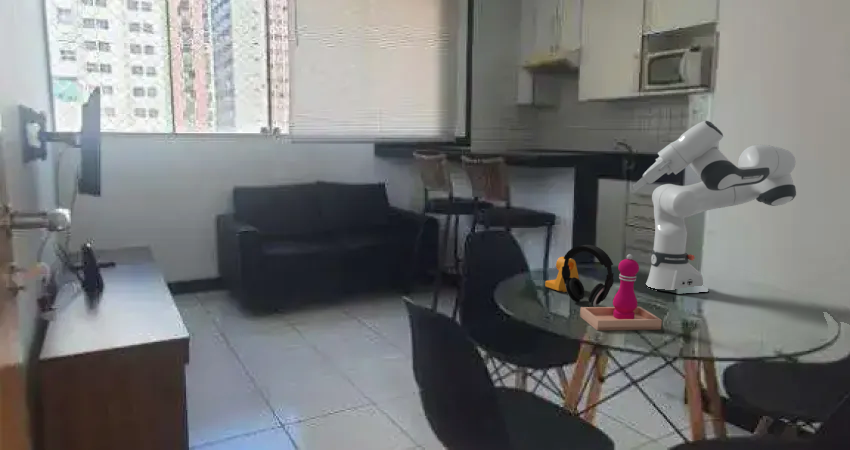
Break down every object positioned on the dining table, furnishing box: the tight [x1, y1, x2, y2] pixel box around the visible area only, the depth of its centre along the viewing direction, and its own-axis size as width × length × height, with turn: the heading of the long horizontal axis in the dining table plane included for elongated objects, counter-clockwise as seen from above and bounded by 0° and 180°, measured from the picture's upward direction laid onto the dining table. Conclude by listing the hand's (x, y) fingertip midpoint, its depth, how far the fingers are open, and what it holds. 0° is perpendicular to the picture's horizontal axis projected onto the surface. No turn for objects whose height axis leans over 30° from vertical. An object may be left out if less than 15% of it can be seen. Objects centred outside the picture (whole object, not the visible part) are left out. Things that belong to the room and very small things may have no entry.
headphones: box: [562, 244, 615, 307], centre depth 199 cm, size 18×8×20 cm, turn 45°
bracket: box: [544, 256, 580, 293], centre depth 218 cm, size 11×7×12 cm, turn 123°
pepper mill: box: [612, 253, 640, 319], centre depth 183 cm, size 7×7×20 cm
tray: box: [579, 306, 663, 331], centre depth 182 cm, size 20×13×3 cm, turn 98°
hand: (633, 188), depth 191 cm, fingers open, 8 cm apart
